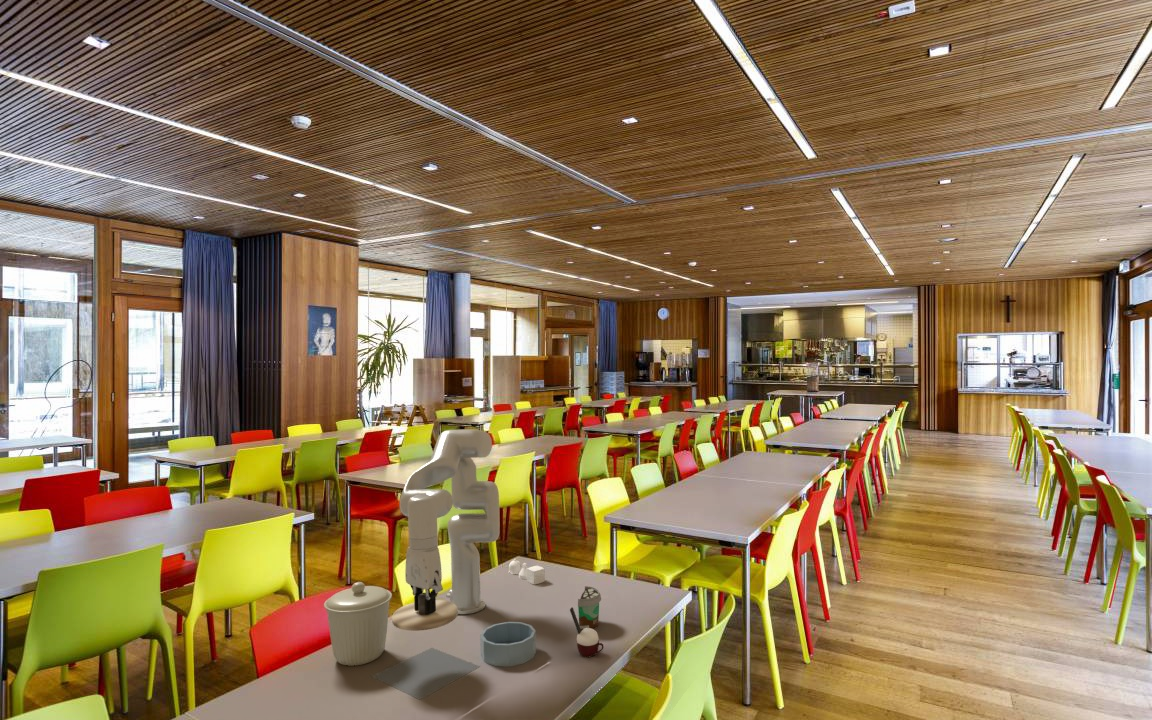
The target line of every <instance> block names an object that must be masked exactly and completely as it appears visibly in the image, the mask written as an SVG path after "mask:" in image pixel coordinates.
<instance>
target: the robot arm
mask: <svg viewBox="0 0 1152 720" xmlns="http://www.w3.org/2000/svg"><path fill="white" fill-rule="evenodd" d="M492 445H493V442H492V437H491V435H490V434H489V433H488V432H487V431H484V430H481V429H474V428H472V429H471V428H467V429H466V428H465V429H460V428H459V429H447V430H444V431H442V432H441V433H440V434H439V436H438V437H437V440H436V443H435V446H434V449H433V451H432V453H431V457H430V459H429V462H427V463H425V464H423V465H421V467H419V468H418V469H417V470H415V471H414V472H413V473H412V474H410V475H409V477H408V478H407V480H406V481H405V484H404V486H403V489H402V492H401V495H400V499H399V510H400V512H401V513H402V515H403V516H405V517H407V519H408V520H407V523H408V524H407V525H408V547H407V549H406V556H405V571H404V572H405V583H407V585H409V586H410V588H411V590H412V595H413V596H414V597H413V598H414V600H413V601H414V602H413V603H414V606H415V611H418V595H419V594H422V593H426V599H425V614H426V615H428V614H431V613H433V612H435V611H436V600H437V599H436V598H437V597H438V595H439V593H440V592H442V591H443V590H444V587H443V585H442V578H443V576H442V575H443V574H442V573H443V572H442V564H441V563H442V562H441V555H440V549H439V541H438V540H439V539H438V537H439V534H438V531H439V530H438V519H439V518H442V517H445V516H446V515H448V513H450V511H451V510H452V508H454V509H456V510H461V511H474V510H475V511H477V510H478V511H479V510H480V511H481V510H482V511H484V513H482V512H481V513H478V512H477V513H476V512H475V513H474V512H472V513H471V512H470V513H467V512H466V513H457V514H454V515H453V516H451V517H450V518H449V520H448V522H447V533H448V538H449V539H448V540H449V546H450V561H451V562H450V563H451V564H450V565H451V569H450V571H451V573H450V574H451V589H450V590H449V591H448V593H446V598H449V599H450V602H452V603H454V604H455V605H456V606H457V608H458V615H469V614H474V613H478V612H480V611H483V609H484V608H485V607H486V600H484V599H482V597H481V567H480V565H481V562H480V553H479V550H478V549H477V547H476V545H475V544H474V543H493V542H496V541H497V540H498V538H499V536H500V528H501V527H500V526H501V525H500V524H501V523H500V494H499V489H498V486H497V484H496V483H495V482H494V481H491V480H490V481H488V480H478V479H477V465H476V463H475V462H474V460H473V459H476V458H479V459H480V458H483V459H484V458H487V457H488V456H489V455H490V453H491V451H492V448H493V447H492ZM449 479H451V492H450V491H449V490H447V489H443V488H439V489H438V488H434V489H433V488H432V489H431V488H429V487H430V486H431V487H432V486H434V485H437V484H439V483H443V482H444V481H446V480H449ZM424 591H425V592H424Z"/></svg>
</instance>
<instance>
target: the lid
mask: <svg viewBox="0 0 1152 720" xmlns="http://www.w3.org/2000/svg"><path fill="white" fill-rule="evenodd" d="M425 599H426V592H423V593H422V594H419V595H418V611H415V606H414V602H412V603H411V602H410V603H409V604H405V605H403V606H401V607H399V608H397V609H396V610H395V611H394V612H393V614H392V616H391V620H392V625H393V626H394V627H396V628H397V629H399V630H400V629H401V630H405V631H411V632H412V631H428V630H433V629H436V628H440V627H443V626H446V625H448V624H450V623H452V622H453V621H454V620H456V619H457V617H458V615H459V614H458V608H457V606H456V605H455V604H454V603H452V602H451V601H448V600H442V599H436V611H435V612H433V613H431V614H428V615H426V614H425Z"/></svg>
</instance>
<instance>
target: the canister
mask: <svg viewBox="0 0 1152 720" xmlns="http://www.w3.org/2000/svg"><path fill="white" fill-rule="evenodd" d="M392 597H393V593H392V592H391V591H390V590H388V589H385V588H384V587H381V586H376V585H366V584H365V583H364V582H362V581H357V582H354V583H353V584H352V586H351V588H347V589H343V590H340V591H339V592H336V593H334V594H333V595H331V597H330V596H329V598H327V599H326V600H325V602H324V603H323V607H324V609H325V610H326V612H327V621H328V627H329V636H330V642H331V648H332V652H333V657H334V659H335V661H337V662H338V663H339V664H341V665H343V666H346V665H348V666H349V667H353V666H354V665H355V666H362V665H365V664H369V663H371V662H373V661H375V660H376V659H378V658H380V656H382V654H383V652H384V650H385V646H386V642H387V632H388V622H389V611H390V601H391V600H392Z"/></svg>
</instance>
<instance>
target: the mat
mask: <svg viewBox="0 0 1152 720" xmlns="http://www.w3.org/2000/svg"><path fill="white" fill-rule="evenodd" d="M480 667H481V666H480V665H477V664H475V663H472V662H470V661H467V660H464V659H462V658H460V657H457V656H455V655H451V654H450V653H447V652H444V651H441V650H439V649H436V648H434V647H430V648H429V649H426V650H424V651H422V652H419V653H418V654H415V655H414V656H411V657H409V658H407V659H405V660H403V661H401V662H398V663H397V664H394V665H392V666H390V667H388V668H385V669H384V670H382V671H379V672H378V673H376V674H374V675H371V677H372V678H373V679H375V680H377V681H380V682H381V683H383V684H386V685H387V686H390V687H392V688H394V689H396V690H398V691H400V692H403V693H405V694H406V695H409V696H411V697H413V698H415V699H417V700H419V701H420V700H422V699H424V698H426V697H429V696H430V695H431V694H433V693H435V692H436V691H439V690H440V689H442V688H444V687H446V686H448V685H449V684H451V683H453V682H454V681H457V680H459V679H460V678H462V677H464V676H466V675H467V674H469V673H471V672H473V671H475V670H477V669H479V668H480Z"/></svg>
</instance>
